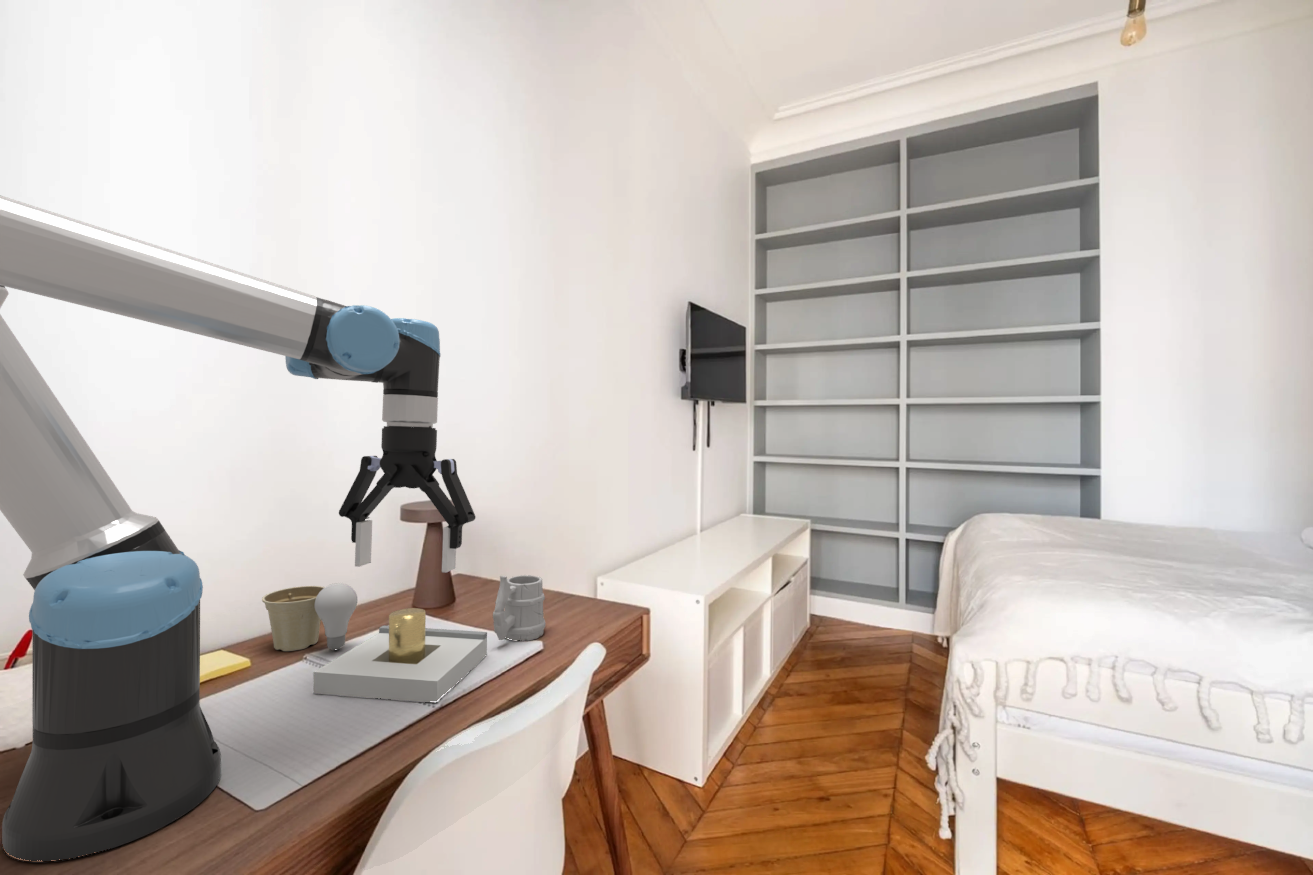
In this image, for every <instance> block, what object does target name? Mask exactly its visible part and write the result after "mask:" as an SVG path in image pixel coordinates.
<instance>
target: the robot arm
mask: <svg viewBox="0 0 1313 875" xmlns="http://www.w3.org/2000/svg"><path fill="white" fill-rule="evenodd" d="M7 288H10V289H14V290H18V291H22V292H26V293H30V294H34V295H38V296H42V297H47V298H51V299H54V300H58V301H63V302H67V303H70V304H75V305H80V306H82V307H87V308H91V309H93V310H94V309H96V310H98V311H103V312H107V313H111V314H115V315H119V316H123V317H127V318H132V319H135V320H139V321H143V322H147V323H151V324H152V323H153V324H154V325H155V324H156V325H158V326H163V327H167V328H172V329H176V330H179V331H183V332H187V333H188V332H189V333H192V334H195V335H196V334H197V335H200V336H204V337H208V338H212V339H216V340H220V341H224V342H228V343H231V344H235V345H240V346H244V347H249V348H253V349H255V350H259V351H265V352H268V353H272V354H276V355H279V356H280V355H281V356H284V357H285V358H284V359H285V367H286V369H287V371H288V373H289V374H290V375H293V376H297V377H304V378H305V377H307V378H312V379H314V380H318V379H326V380H339V381H355V382H371V383H379V384H380V383H381V384H383V385H382V387H383V389H382V390H383V391H382V419H381V421H382V422H385V423H386V425H385V426H383V427H382V428H381V444H380V445H381V447H380V448H381V450H382V456H381V457H379V456H378V455H363V456H362V457H361V458H360V465H359V466H360V467H359V470H358V473H357V475H356V477H355V479H354V481H353V483H352V485H351V487H350V489H349V491H348V492H347V495H346V496H345V499H344V501H343V502H342V504H341V506H340V508H339V510H338V515H339V517H341V518H347V519H349V520H350V522H351V534H350V535H351V537H350V540H351V543H353V544H355V547H354V548H355V551H354V567H357V568H358V567H363V566H365V565H368V564H371V563H372V543H373V542H372V541H373V538H372V536H373V520H372V519H370V518H371V517H369V516H370V515H371V514H372V513H373V512H374V511H375V509H376V508H377V507H378V505H379V504H380V503H381V502H382V501H383V500H384V499H385V497H386V496H387V495H388V494H389V493H390V492H391V490H393V489H394V488H398V489H399V488H400V489H401V488H408V489H419V490H420V491H421V492H423V493H424V494H425V495H426V496H427V498H428V499H429V500H430V502H431V503H432V504H433V506H434V507H435V509H436V510H437V511H438V513H439V514H440V515H441V517H442V518H443V519H444V520H445V522H446V523H447V525H446V526H444V527H442V556H441V557H442V558H441V573H448V572H451V571H452V570H455V569H456V565H457V564H456V562H457V561H456V560H457V557H456V556H457V549H459V548H461V546H462V543H463V542H462V540H463V528H464V525H465V524H469V523H471V522H473V521H475V520H476V515H475V511H474V509H473V507H472V504H471V502H470V500H469V497H468V496H467V493H466V491H465V489H464V487H463V484H462V482H461V479H460V477H459V475H458V468H457V467H458V466H457V461H456V460H455V458H446V459H445V458H443V459H442V460H437V458H436V452H437V444H438V443H437V442H438V440H437V438H438V430H437V429H436V427H434V425H435V424H437V423H438V410H439V409H438V408H439V406H438V404H439V402H438V401H439V392H438V391H439V378H440V377H439V374H440V358H441V355H442V354H441V344H440V343H441V338H440V330H439V329H438V328H439V327H437V326H436V325H435V324H433V323H432V322H429V321H425V320H421V319H415V318H404V317H403V318H401V317H398V318H390V316H388V314H386V313H385V312H383V310H380V309H379V308H376V307H373V306H370V305H365V304H364V305H363V304H361V305H358V304H357V305H355V304H353V305H344V304H340V303H338V302H335V301H331V300H329V299H324V298H321V297H318V296H315V295H312V294H310V293H305V292H302V291H299V290H297V289H293V288H291V287H287V286H284V285H281V284H278V283H274V282H272V281H269V280H265V279H263V278H259V277H256V276H253V275H250V274H247V273H244V272H241V271H237V270H234V269H231V268H229V267H225V266H223V265H219V264H215V263H212V262H209V261H206V260H204V259H200V258H196V257H193V256H190V255H187V254H184V253H181V252H178V251H175V250H172V249H169V248H166V247H162V246H159V245H157V244H153V243H150V242H146V241H144V240H141V239H138V238H134V237H131V236H129V235H126V234H122V233H119V232H115V231H114V230H113V231H112V230H110V229H107V228H104V227H100V226H97V225H94V224H92V223H91V224H90V223H87V222H84V221H81V220H79V219H75V218H73V217H69V216H65V215H62V214H61V213H60V214H59V213H58V212H57V213H56V212H53V211H49V210H48V209H44V208H41V207H38V206H35V205H31V204H29V203H25V202H22V201H19V200H16V199H14V198H9V197H6V196H3V195H0V309H1V308H2V306H3V304H4V302H5V301H6V299H7V298H8V295H9V294H10V293H9V291H8V290H7ZM380 469H381V470H382V472H383V473H384V474H382V476H381V477H380V478H379V479H378V481H377V482H376V484H375V486H374V487H373V488H372V490H370V492H369V493H368V490H369V489H370V486H372V485H371V484H372V482H373V481H374V479H375V477H376V475H377V472H378V471H379V470H380ZM436 470H437V471H438V473H439V474H440V475H441V478H442V480H443V483H444V486H445V488H446V490H447V492H448V495H449V497H448V496H447V495H446V493H445V492H444V491H443V489H442V488H441V486H440V483H439V481H438V480H437V479H436V477H435V476H434V475H433V474H434V473H435V472H436ZM367 493H368V494H367ZM366 494H367V496H366ZM449 498H450V499H449ZM0 513H2V514H3V516H4V517H5V518H6V519H7V521H8V523H9V525H11V527H12V528H13V530H14V531H15V532H16V534H17V535H18V536H19V538H20V539H21V540H22V541H23V543H24V544H25V545H26V547H27V548H28V549H29V551H30V552H31V558H30V561H28V564H27V566H26V567H25V568H26V569H25V570H24V572H23V574H22V576H23V577H24V578H25V579H26V581H27V582H28V584H29V585H30V586H31V587H32V590H34V592H33V598H32V601H33V602H32V603H31V606H30V608H29V612H28V622H29V624H30V627H31V630H32V641H31V643H32V644H31V645H32V650H31V651H32V652H31V653H32V656H31V658H32V659H31V660H32V663H31V664H32V668H31V669H32V674H31V675H32V677H31V678H32V688H31V689H32V694H31V696H32V704H31V705H32V717H31V718H32V719H31V721H32V747H31V751H30V754H29V757H28V758H27V761H26V764H25V767H24V769H23V771H22V773H21V776H20V778H19V782H18V783H17V787H16V790H15V793H14V795H13V797H12V801H11V802H10V804H9V806H8V808H7V809H6V811H5V812H4V815H3V819H2V825H1V827H2V830H1V832H2V834H1V837H2V838H1V839H2V841H1V844H3V847H4V849H5V851H6V852H7V853H9V855H12V856H14V857H16V858H19V859H20V858H21V859H23V860H24V859H25V860H29V861H30V860H31V861H37V860H38V861H39V860H40V861H41V860H42V861H51V860H59V859H60V860H62V859H68V860H70V859H69V858H73V859H77V858H76V857H78V856H82V855H86V854H91V853H94V852H98V853H100V852H99V851H102V852H104V851H103V850H105V851H107V850H106V849H108V850H111V849H114V848H117V847H120V846H123V845H125V844H128V843H131V842H132V841H133V842H134V841H135V840H138V839H140V838H142V837H145V836H147V835H149V834H151V833H154V832H155V831H158V830H159V829H161V828H163V827H165V826H167V825H169V824H171V823H173V822H174V821H176V820H178V819H179V818H181V817H182V816H184V815H186V814H187V813H188V812H190V811H191V810H193V809H194V808H196V807H197V806H198V805H199V804H200V803H202V802H203V801H205V800H206V798H208V796H209V795H211V793H212V792H213V790H215V789H216V787H217V785H218V784H219V782H220V780H221V776H222V774H221V771H222V767H221V766H222V764H221V762H222V761H221V760H222V758H221V757H222V755H221V748H220V747H219V746H218V744H217V742H216V741H215V739H214V736H213V732H212V731H211V728H210V725H209V724H208V720H207V718H206V717H205V714H204V712H203V710H202V708H201V701H200V699H201V698H200V696H201V695H200V692H201V691H200V690H201V689H200V688H201V687H200V685H201V684H200V682H201V599H202V596H203V589H204V587H203V586H204V585H203V581H202V577H201V576H200V573H201V572H200V568H199V566H198V564H197V563H196V561H195V560H194V559H192V558H191V557H189V556H187V555H185V552H184V551H182V550H179V549H178V547H177V545H176V544H175V542H174V541H173V539H172V538H171V536H170V535H169V534H168V532H167V530H166V529H165V528H164V526H163V525H162V523H161V521H160V520H159V519H158V518H157V516H153V515H152V516H151V515H147V514H142V513H139V512H138V513H137V512H135V511H134V510H133V509H132V508H131V506H130V505H129V503H128V502H127V501H126V499H125V497H124V496H123V495H122V493H121V492H120V491H119V489H118V488H117V485H115V483H114V481H113V480H112V478H111V477H110V475H109V473H107V471H106V469H105V467H103V465H102V464H101V462H100V461H99V459H98V458H97V456H96V454H95V453H94V452H93V450H92V448H90V446H89V444H88V443H87V441H86V440H85V438H84V436H82V434H81V432H80V431H79V430H78V428H77V427H76V425H75V423H74V421H73V420H72V419H71V417H70V416H69V415H68V413H67V412H66V410H65V408H64V407H63V405H62V404H61V402H60V401H59V399H58V398H57V396H56V395H55V394H54V392H53V391H52V390H51V388H50V386H49V384H48V383H47V382H46V380H45V379H44V377H43V375H42V374H41V372H40V371H39V369H38V368H37V367H36V365H35V364H34V362H33V361H32V360H31V358H30V356H29V355H28V353H27V352H26V350H25V349H24V348H23V346H22V345H21V342H19V340H18V339H17V337H16V335H15V334H14V333H13V331H12V329H11V328H10V327H9V325H8V324H7V322H6V321H5V319H4V318H3V316H2V315H1V314H0ZM3 847H2V848H3ZM110 848H111V849H110ZM91 855H92V854H91ZM74 857H75V858H74ZM78 858H79V857H78ZM62 861H63V860H62Z"/></svg>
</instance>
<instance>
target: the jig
mask: <svg viewBox="0 0 1313 875" xmlns="http://www.w3.org/2000/svg"><path fill="white" fill-rule="evenodd" d="M485 655H488V632H487V631H475V630H460V629H445V628H431V627H430V628H429V627H428V628H427V627H425V658H424V659H423V660H422V661H420V662H419V663H418V664H405V663H391V662H389V625H381V626H379V628H378V633H376V634H374V636H371V637H370V638H368V639H366V640H365V641H362V643H360V644H358V645H356V646H354V647H353V648H352V649H349V650H348V651H346V652H345V653H343V654H341V655H340V656H338V657H336V658H335V659H333V660H331V661H330V662H327V663H326V664H324V665H323V666H321V667H319V668H318V669H316V670H314V671H313V673H312V674H313V681H312V684H313V685H312V686H313V687H312V692H313V693H312V694H316V695H327V696H328V695H329V696H338V697H340V696H341V697H350V698H351V697H354V698H366V699H375V698H378V699H379V700H388V699H391V700H390V701H400V702H401V701H403V702H413V703H414V702H417V703H425V702H430V701H437V700H438V699H439V698H440V697H441V696H442V695H443V694H445V693H446V692H447V691H448V690H449V689H450V688H452V687H453V686H454V685H455V684H456V683H457V682H458V681H460V680H461V678H463V677H464V676H465V675H466V674H467V673H468V672H469V671H470V670H471V671H472V670H473V669H475V667H476V666H477V665H478V664H480V662H482V661H483V659H484V658H485V657H484V656H485ZM483 657H484V658H483ZM471 671H470V672H471ZM470 672H469V673H470ZM469 673H468V674H469ZM468 674H467V675H468ZM467 675H466V676H467ZM466 676H465V677H466ZM465 677H464V678H465ZM464 678H463V679H464ZM461 681H462V680H461ZM461 681H460V682H461ZM454 687H455V686H454ZM454 687H453V688H454ZM453 688H452V689H453ZM380 698H381V699H380Z"/></svg>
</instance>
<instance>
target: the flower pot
mask: <svg viewBox="0 0 1313 875" xmlns="http://www.w3.org/2000/svg"><path fill="white" fill-rule="evenodd" d="M325 587H326V586H321V585H303V586H302V585H301V586H293V587H287V588H282V589H278V590H274V591H271V592H269V593H266V594H265V595H264V596H262V597H261V601H262V603H264V606H265V609H266V610H267V614H268V618H269V623H270V624H269V625H270V630H271V635H272V636H271V637H272V642H273V649H275V650H276V651H280V650H281V651H282V652H293V651H301V650H305V649H307V648H308V647H310V645H313V646H315V644H317V642H319V636H320V635H319V634H320V628H321V623H322V620H321V619H320V618H319V616H318V614H317V612H316V610H315V600H316V597H317V595H318V594H319V592H320V591H321V590H322V589H323V588H325Z"/></svg>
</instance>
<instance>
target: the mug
mask: <svg viewBox="0 0 1313 875" xmlns="http://www.w3.org/2000/svg"><path fill="white" fill-rule="evenodd" d="M499 581H500V582H499V589H498V591H497V594H496V599H495V607H494V610H493V612H492V619H493V620H492V621H493V629H494V630H493V631H494V634H496V636H497V639H498V640H499V641H503V640H505V639H506V638H509V639H512V640H520V641H521V640H523V641H522V642H524V641H527V642H528V641H529V642H530V641H532V640H536V639H538V638H540V637H542V636H543V634H544V629H545V628H546V620H545V618H544V600H546V597H545V593H544V592H543V578H542V577H541V576H538V575H537V576H536V575H532V574H523V575H522V574H521V575H514V576H512V577H509V578H508V577H507V576H506V575H502V574H501V575H500V576H499ZM505 637H506V638H505Z"/></svg>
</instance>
